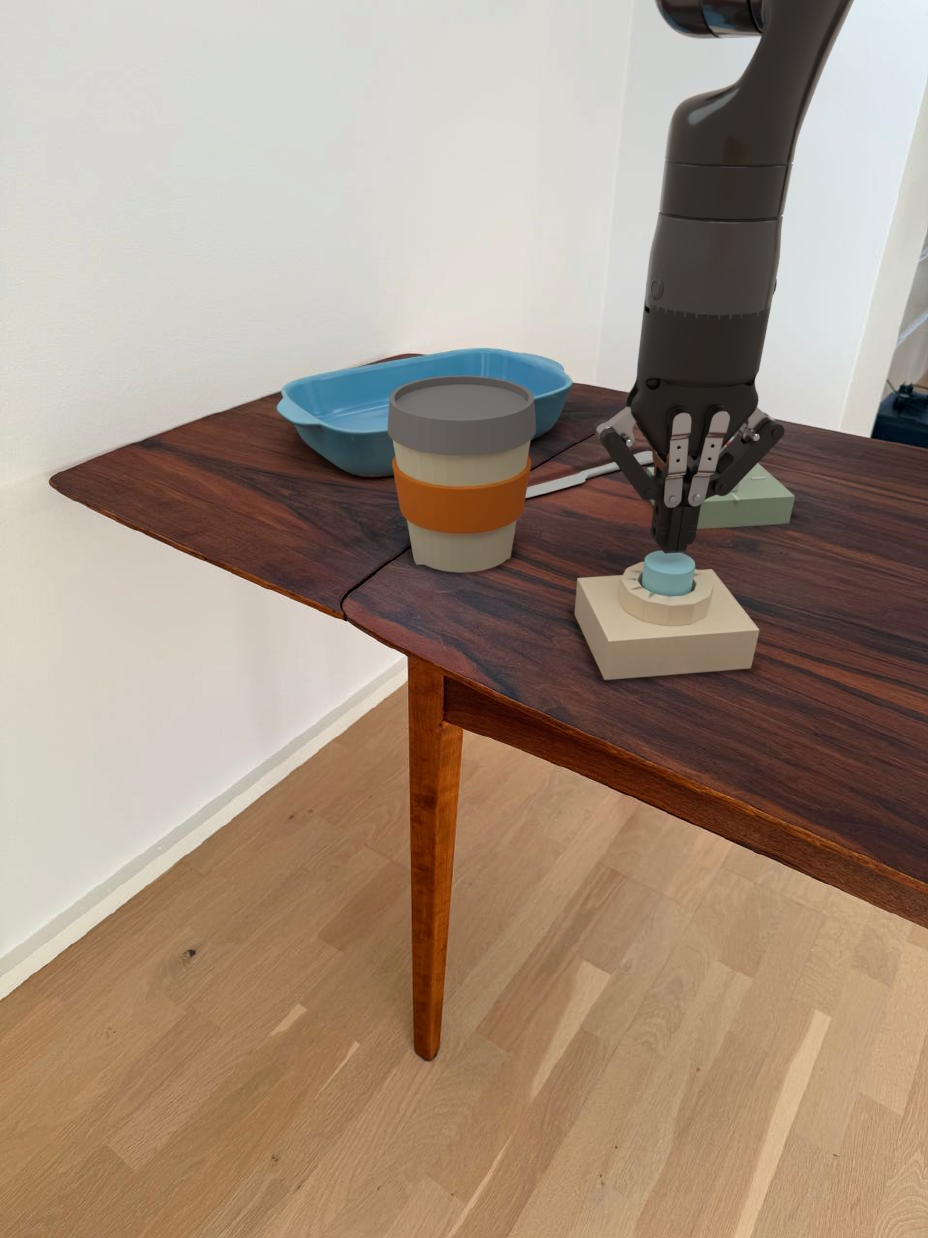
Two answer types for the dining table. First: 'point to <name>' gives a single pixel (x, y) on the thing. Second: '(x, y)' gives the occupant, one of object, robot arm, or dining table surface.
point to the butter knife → (583, 476)
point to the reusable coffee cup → (461, 467)
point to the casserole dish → (359, 397)
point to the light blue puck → (668, 573)
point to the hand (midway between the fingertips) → (670, 548)
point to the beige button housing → (663, 626)
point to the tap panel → (747, 503)
